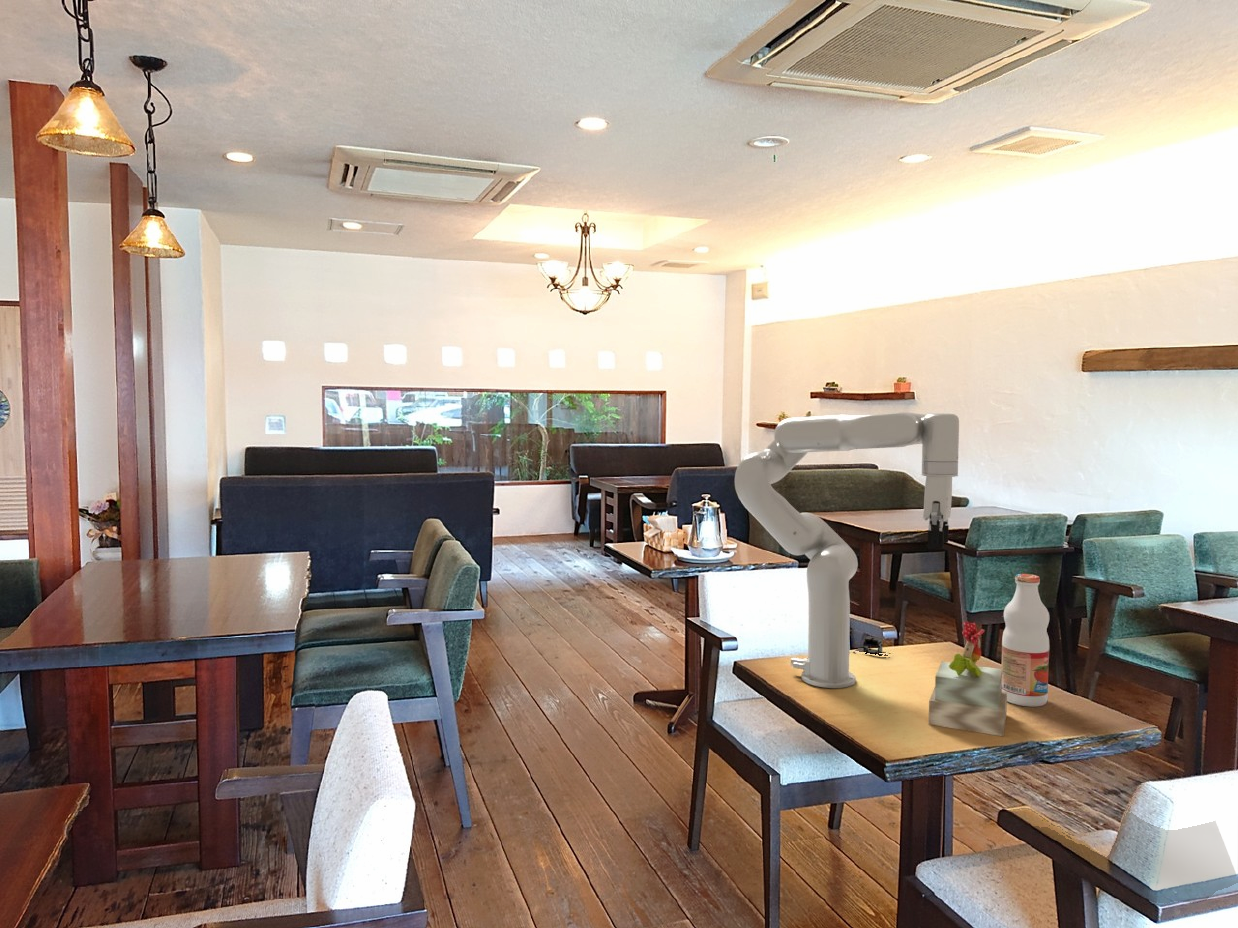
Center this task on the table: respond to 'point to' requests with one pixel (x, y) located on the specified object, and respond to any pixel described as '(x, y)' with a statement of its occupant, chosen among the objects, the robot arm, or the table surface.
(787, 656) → the table surface
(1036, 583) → the fruit juice
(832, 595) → the robot arm
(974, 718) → the striped stacked block
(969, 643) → the bird rattle
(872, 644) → the dark grey rounded block
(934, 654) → the table surface
